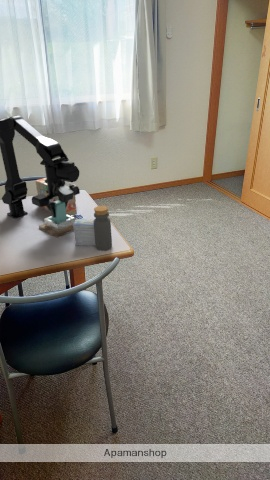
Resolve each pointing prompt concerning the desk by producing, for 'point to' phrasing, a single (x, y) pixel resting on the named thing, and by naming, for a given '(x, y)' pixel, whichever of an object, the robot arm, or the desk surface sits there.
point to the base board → (56, 231)
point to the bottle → (102, 229)
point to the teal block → (59, 212)
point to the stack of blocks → (70, 205)
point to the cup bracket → (61, 225)
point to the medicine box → (84, 232)
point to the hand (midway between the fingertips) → (59, 215)
